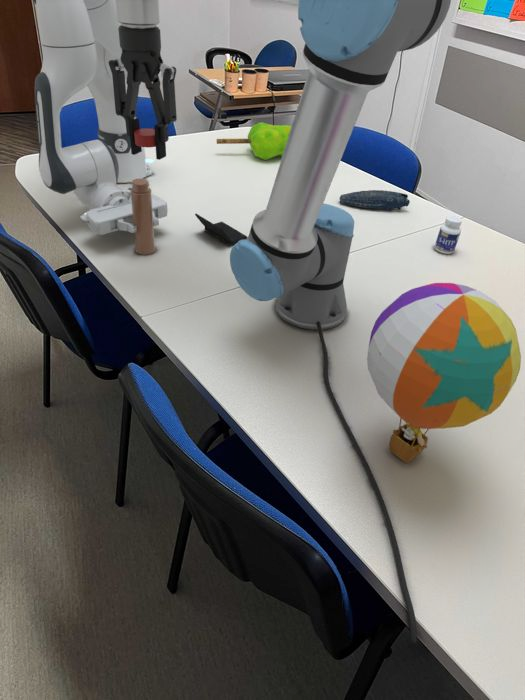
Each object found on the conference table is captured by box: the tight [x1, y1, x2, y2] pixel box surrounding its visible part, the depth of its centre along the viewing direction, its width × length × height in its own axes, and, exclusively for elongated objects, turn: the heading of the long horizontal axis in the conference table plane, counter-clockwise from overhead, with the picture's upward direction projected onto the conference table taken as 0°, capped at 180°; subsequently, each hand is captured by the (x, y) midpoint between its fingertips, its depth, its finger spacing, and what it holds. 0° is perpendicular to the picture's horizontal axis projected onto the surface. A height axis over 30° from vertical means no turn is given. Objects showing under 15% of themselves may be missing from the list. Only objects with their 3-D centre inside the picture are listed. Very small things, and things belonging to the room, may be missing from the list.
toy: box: [366, 282, 522, 464], centre depth 73 cm, size 20×20×30 cm
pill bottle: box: [434, 215, 463, 255], centre depth 137 cm, size 5×5×9 cm
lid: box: [134, 127, 156, 148], centre depth 107 cm, size 5×5×2 cm
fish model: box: [339, 189, 411, 211], centre depth 158 cm, size 7×21×5 cm, turn 84°
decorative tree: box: [216, 121, 292, 161], centre depth 186 cm, size 18×10×30 cm
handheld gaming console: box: [194, 213, 248, 246], centre depth 135 cm, size 12×7×10 cm
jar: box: [130, 178, 156, 256], centre depth 123 cm, size 5×5×17 cm
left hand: (145, 226), depth 124 cm, fingers closed on jar, 5 cm apart
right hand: (148, 155), depth 109 cm, fingers closed on lid, 5 cm apart
